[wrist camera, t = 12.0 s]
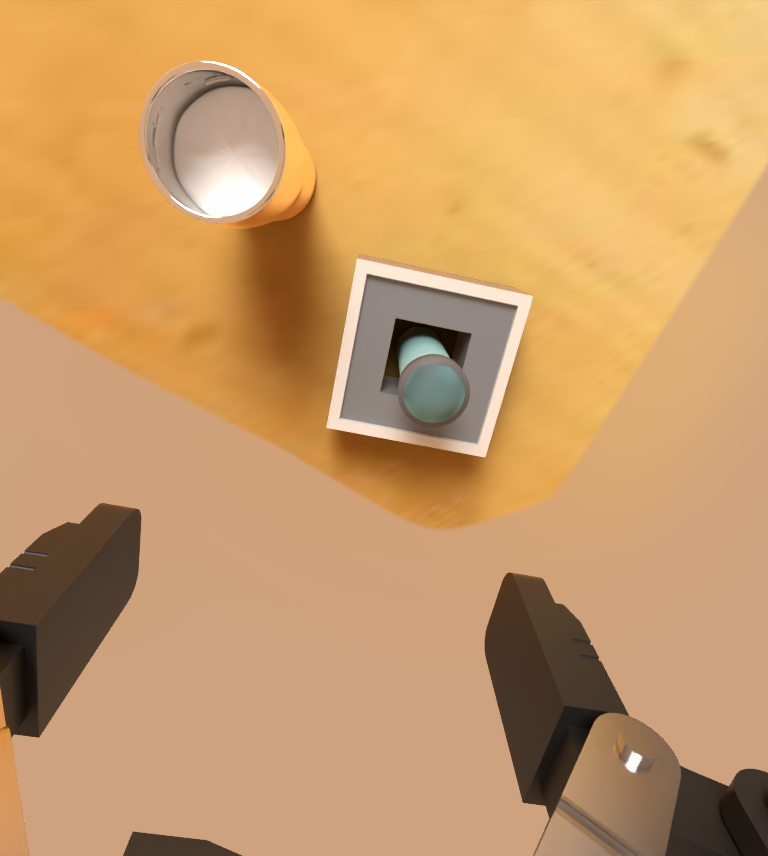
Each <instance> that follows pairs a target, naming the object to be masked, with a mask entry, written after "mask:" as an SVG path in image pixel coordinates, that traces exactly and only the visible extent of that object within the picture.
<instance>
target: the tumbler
mask: <svg viewBox="0 0 768 856" xmlns="http://www.w3.org/2000/svg"><path fill="white" fill-rule="evenodd" d="M139 143H140V150H141V155H142V158H143V162H144V165H145V167H146V170H147V172H148V174H149V176H150V178H151V180H152V182H153V183H154V185H155V186H156V188H157V189H158V191H159V192H160V193H161V194H162V195H163V197H164V198H165V199H166V200H167V201H168V202H169V203H170V204H172V205H173V206H174V207H175V208H177V209H178V210H179V211H181V212H182V213H184V214H186V215H188V216H190V217H192V218H194V219H197V220H199V221H203V222H207V223H212V224H215V225H219V226H223V227H230V228H252V227H258V226H262V225H265V224H268V223H270V222H272V221H282V220H286V219H289V218H292V217H294V216H295V215H297V214H298V213H300V212H301V211H302V210H303V209H304V208H305V206H306V205H307V204H308V202H309V201H310V199H311V197H312V194H313V192H314V188H315V181H316V174H315V166H314V162H313V159H312V157H311V154H310V152H309V150H308V149H307V147H306V146H305V144H304V143H303V142H302V140H301V137H300V135H299V132H298V130H297V128H296V126H295V124H294V122H293V120H292V119H291V117H290V115H289V114H288V112H287V111H286V110H285V108H284V107H283V106H282V105H281V103H280V102H279V101H278V100H277V99H276V98H275V97H274V96H273V95H272V94H271V93H270V92H268V91H267V90H266V89H265V88H264V87H262V86H261V85H259V84H258V83H257V82H256V81H255V80H253V79H252V78H251V77H250V76H248V75H247V74H246V73H244V72H242V71H241V70H239V69H237V68H235V67H233V66H230V65H228V64H225V63H221V62H217V61H209V60H199V61H192V62H188V63H184V64H182V65H179V66H177V67H175V68H173V69H171V70H170V71H168V72H167V73H166V74H164V75H163V76H162V77H161V78H160V79H159V80H158V81H157V82H156V83H155V85H154V86H153V87H152V89H151V91H150V92H149V94H148V96H147V98H146V100H145V102H144V105H143V108H142V112H141V116H140V122H139Z"/></svg>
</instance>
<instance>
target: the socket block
mask: <svg viewBox="0 0 768 856" xmlns="http://www.w3.org/2000/svg"><path fill="white" fill-rule="evenodd" d="M532 299H533V296H531V295H529V294H527V293H524V292H522V291H520V290H518V289H516V288H513V287H508V286H503V285H499V284H494V283H490V282H485V281H480V280H476V279H471V278H467V277H462V276H457V275H453V274H448V273H443V272H439V271H434V270H430V269H425V268H420V267H416V266H411V265H407V264H402V263H397V262H393V261H388V260H383V259H379V258H374V257H370V256H365V255H360V254H359V256H358V258H357V262H356V267H355V273H354V278H353V284H352V289H351V295H350V300H349V306H348V311H347V317H346V322H345V328H344V333H343V339H342V344H341V350H340V356H339V361H338V367H337V372H336V378H335V383H334V389H333V394H332V400H331V405H330V411H329V416H328V422H327V427H326V428H330V429H336V430H341V431H346V432H352V433H357V434H362V435H368V436H373V437H378V438H384V439H389V440H394V441H400V442H405V443H410V444H416V445H421V446H426V447H432V448H437V449H442V450H448V451H453V452H458V453H464V454H469V455H474V456H480V457H486V453H487V450H488V447H489V443H490V440H491V437H492V433H493V430H494V427H495V423H496V420H497V417H498V413H499V410H500V407H501V403H502V400H503V397H504V393H505V390H506V387H507V383H508V380H509V376H510V373H511V370H512V366H513V363H514V360H515V356H516V353H517V350H518V346H519V343H520V340H521V336H522V333H523V330H524V326H525V323H526V320H527V316H528V313H529V309H530V306H531V303H532ZM396 318H399V319H403V320H408V321H413V322H418V323H423V324H427V325H432V326H437V327H442V328H447V329H452V330H456V331H459V332H458V336H457V340H456V344H455V348H454V352H453V356H452V360H454V361H455V362H456V363H457V364H458V365H459V366H460V367H461V369H462V370H463V372H464V374H465V375H466V377H467V379H468V382H469V386H470V398H469V402H468V405H467V407H466V409H465V410H464V412H463V413H462V414H461V416H460V417H459V418H457V419H456V420H455V421H453V422H452V423H450V424H448V425H445V426H442V427H435V428H430V427H424V426H421V425H418V424H416V423H414V422H413V421H411V420H410V419H409V418H408V417H407V416H406V415H405V414H404V412H403V410H402V409H401V406H400V403H399V398H398V381H399V378H397V377H392V376H387V375H384V371H385V366H386V361H387V357H388V352H389V347H390V343H391V338H392V333H393V329H394V324H395V319H396Z"/></svg>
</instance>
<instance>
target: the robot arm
mask: <svg viewBox="0 0 768 856" xmlns="http://www.w3.org/2000/svg"><path fill="white" fill-rule="evenodd" d="M140 532H141V513H140V510H139V509H134V508H128V507H122V506H116V505H110V504H105V503H101V504H99V505H98V506H97V507H96V508H95V509H94V510H93V511H92V512H91V513H90V514H89V515H88V516H87V517H86V518H85V519H84V520H83V521H82V522H81V523H80V524H76V523H69V522H67V523H65V524H63V525H61V526H59V527H57V528H54V529H52V530H50V531H48V532H46V533H44V534H42V535H41V536H40V537H39V538H38V539H37V540H36V541H35V542H33V543H32V545H30V546H29V547H28V548H27V549H26V550H25V552H24V554H21V555H19V556H18V558H16V559H15V560H14V561H13V562H12V563H11V564H10V567H9V568H8V567H6V568H5V569H4V570H3V571H2V572H1V573H0V856H30V855H29V849H28V842H27V836H26V830H25V823H24V816H23V811H22V804H21V798H20V791H19V785H18V778H17V771H16V765H15V759H14V752H13V746H12V740H11V738H12V736H13V735H14V734H16V735H24V736H31V737H40V735H41V734H42V732H43V731H44V729H45V728H46V726H47V724H48V723H49V721H50V720H51V718H52V716H53V715H54V714H55V712H56V711H57V709H58V708H59V706H60V705H61V703H62V702H63V700H64V699H65V697H66V695H67V694H68V692H69V691H70V689H71V688H72V686H73V685H74V683H75V682H76V680H77V679H78V677H79V676H80V674H81V673H82V671H83V670H84V668H85V666H86V665H87V663H88V662H89V660H90V659H91V657H92V656H93V654H94V653H95V651H96V649H97V648H98V647H99V645H100V644H101V642H102V640H103V639H104V637H105V636H106V635H107V633H108V632H109V630H110V628H111V627H112V625H113V624H114V622H115V621H116V619H117V618H118V616H119V615H120V613H121V612H122V610H123V609H124V607H125V605H126V604H127V602H128V601H129V599H130V597H131V595H132V592H133V590H134V588H135V585H136V580H137V576H138V569H139V552H140ZM590 642H591V641H590V639H589V638H588V635H587V633H586V632H585V630H584V628H583V626H582V624H581V622H580V621H579V620H578V619H577V618H576V617H575V616H574V615H573V614H572V613H571V612H570V611H569V610H568V609H567V608H566V607H565V606H564V605H562V604H556V603H555V602H554V600H553V598H552V596H551V594H550V592H549V589H548V587H547V585H546V583H545V581H544V580H543V579H542V578H538V577H533V576H527V575H521V574H515V573H507V575H505V577H504V579H503V582H502V584H501V587H500V590H499V593H498V596H497V599H496V602H495V605H494V608H493V611H492V614H491V617H490V620H489V623H488V626H487V629H486V635H485V655H486V660H487V664H488V668H489V671H490V676H491V680H492V684H493V688H494V691H495V695H496V699H497V703H498V707H499V711H500V715H501V719H502V723H503V727H504V730H505V734H506V738H507V742H508V746H509V750H510V754H511V758H512V761H513V766H514V770H515V774H516V777H517V781H518V785H519V789H520V793H521V797H522V801H523V803H529V804H536V805H544V806H546V808H547V812H548V815H549V818H550V819H549V821H548V823H547V825H546V828H545V830H544V832H543V834H542V837H541V839H540V841H539V843H538V845H537V848H536V850H535V852H534V854H533V856H768V773H767V772H764V771H760V770H756V769H744V770H741V771H739V772H738V773H737V774H736V776H735V777H734V779H733V781H732V782H731V784H730V785H729V786H726V785H724V784H721V783H719V782H717V781H714V780H712V779H710V778H707V777H705V776H702V775H700V774H698V773H695V772H693V771H690V770H688V769H686V768H684V767H682V766H680V765H679V762H678V759H677V757H676V756H675V754H674V752H673V751H672V749H671V748H670V746H669V745H668V744H667V743H666V742H665V741H664V739H663V738H662V737H660V735H659V734H657V733H656V732H655V731H654V730H652V729H651V728H650V727H648V726H647V725H645V724H644V723H642V722H640V721H638V720H637V719H634V718H632V717H630V716H629V715H628V713H627V711H626V709H625V707H624V705H623V703H622V701H621V699H620V697H619V695H618V693H617V691H616V690H615V688H614V686H613V684H612V682H611V680H610V678H609V676H608V674H607V672H606V670H605V668H604V666H603V664H602V663H601V661H599V660H598V658H599V657H598V655H597V653H596V651H595V649H594V647H593V645H590ZM123 856H241V855H239V854H237V853H235V852H232V851H230V850H228V849H226V848H223V847H221V846H218V845H216V844H214V843H212V842H210V841H207V840H200V839H191V838H182V837H174V836H165V835H156V834H147V833H140V832H133V833H132V835H131V837H130V840H129V842H128V845H127V847H126V850H125V853H124V855H123Z"/></svg>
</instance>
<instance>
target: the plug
mask: <svg viewBox="0 0 768 856" xmlns="http://www.w3.org/2000/svg"><path fill="white" fill-rule="evenodd" d="M396 354H397V360H398V366H399V373H400V377H399V381H398V398H399V403H400V406H401V409H402V410H403V412H404V414H405V415H406V416H407V417H408V418H409V419H410V420H411V421H413V422H414V423H416V424H418V425H421V426H424V427H430V428H435V427H442V426H445V425H448V424H450V423H452V422H453V421H455V420H456V419H457V418H459V417H460V416H461V414H462V413H463V412H464V410H465V409H466V407H467V405H468V402H469V398H470V386H469V382H468V379H467V377H466V375H465V374H464V372H463V370H462V369H461V367H460V366H459V365H458V364H457V363H456V362H455V361H454V360H452V359H451V358H450V357H449V356H448V354H447V352H446V350H445V348H444V347H443V345H442V343H441V341H440V339H439V338H438V336H437V335H436V334H435V333H434V332H433V331H432V330H430V329H428V328H425V327H413V328H411V329H408V330H407V331H405V332H404V333H403V334H402V335H401V336H400V338H399V340H398V342H397V346H396Z"/></svg>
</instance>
